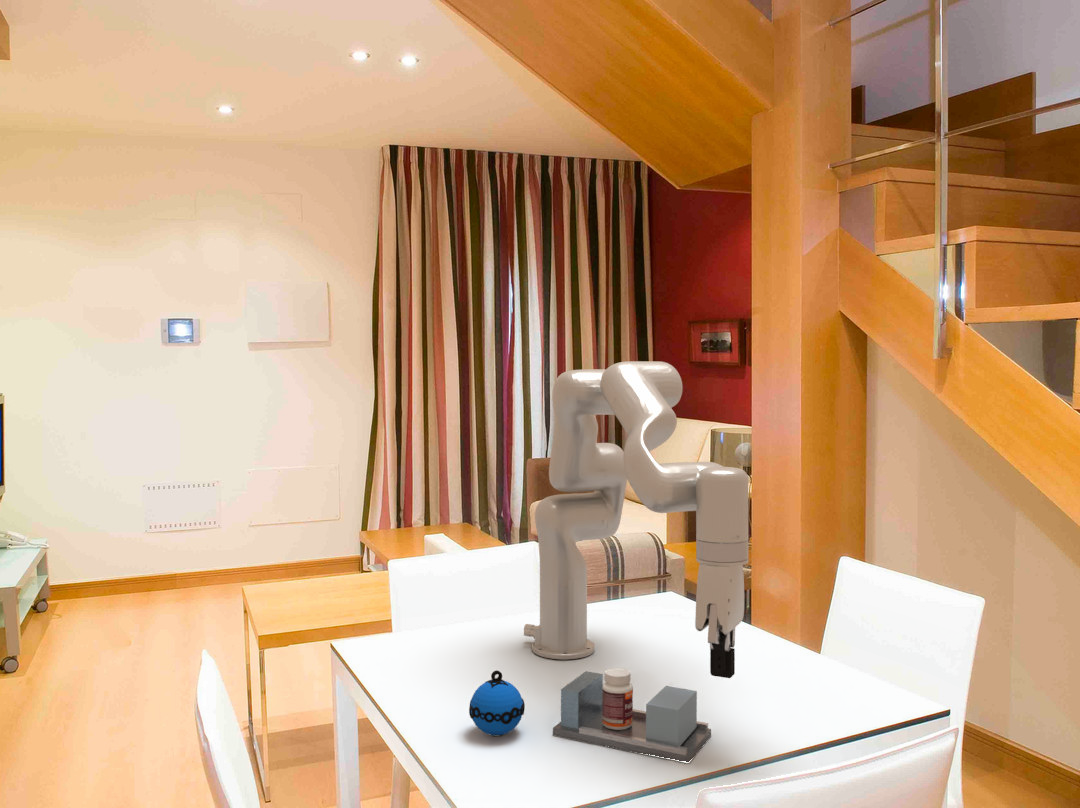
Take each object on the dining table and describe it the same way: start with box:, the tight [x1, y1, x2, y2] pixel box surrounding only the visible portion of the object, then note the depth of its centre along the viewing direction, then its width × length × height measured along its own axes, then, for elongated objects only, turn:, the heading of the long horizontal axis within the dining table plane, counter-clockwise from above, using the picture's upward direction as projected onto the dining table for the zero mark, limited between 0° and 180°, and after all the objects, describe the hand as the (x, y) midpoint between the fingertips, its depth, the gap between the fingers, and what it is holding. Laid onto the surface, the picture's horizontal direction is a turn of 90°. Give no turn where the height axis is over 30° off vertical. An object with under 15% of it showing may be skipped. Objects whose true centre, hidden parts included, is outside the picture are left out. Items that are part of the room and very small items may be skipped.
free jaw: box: [645, 685, 698, 746], centre depth 138 cm, size 5×9×6 cm, turn 152°
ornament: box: [468, 670, 526, 737], centre depth 142 cm, size 9×9×10 cm
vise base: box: [552, 670, 712, 762], centre depth 141 cm, size 22×11×7 cm, turn 62°
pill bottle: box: [602, 667, 634, 730], centre depth 142 cm, size 5×5×8 cm
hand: (722, 675), depth 134 cm, fingers closed
